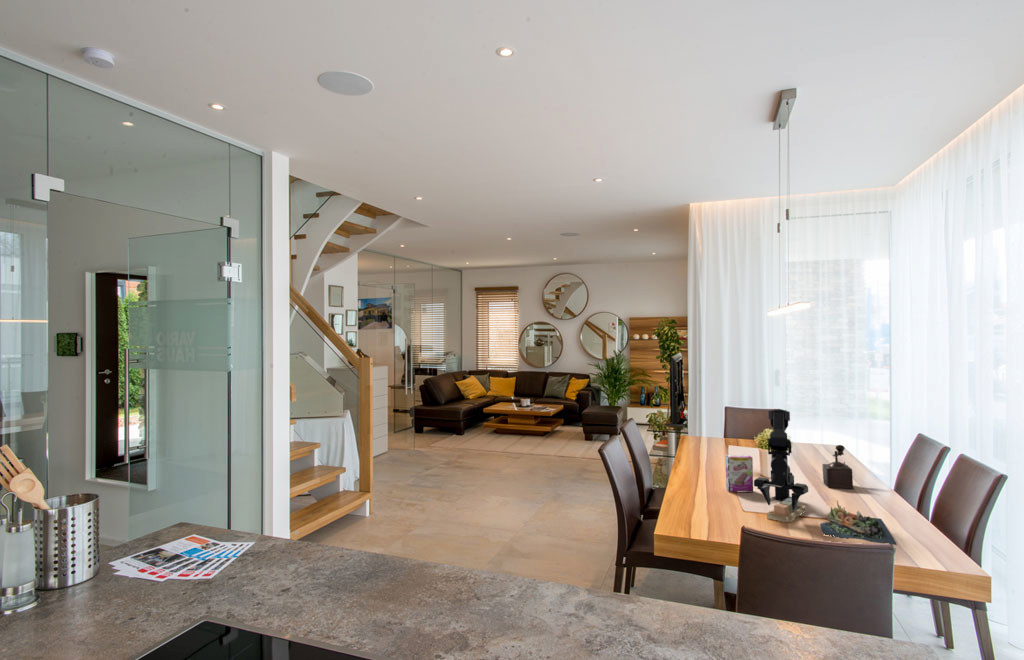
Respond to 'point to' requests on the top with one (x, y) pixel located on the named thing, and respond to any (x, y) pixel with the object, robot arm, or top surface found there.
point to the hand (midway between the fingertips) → (781, 507)
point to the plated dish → (856, 526)
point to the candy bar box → (739, 473)
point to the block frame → (792, 513)
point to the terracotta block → (781, 509)
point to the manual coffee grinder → (837, 472)
